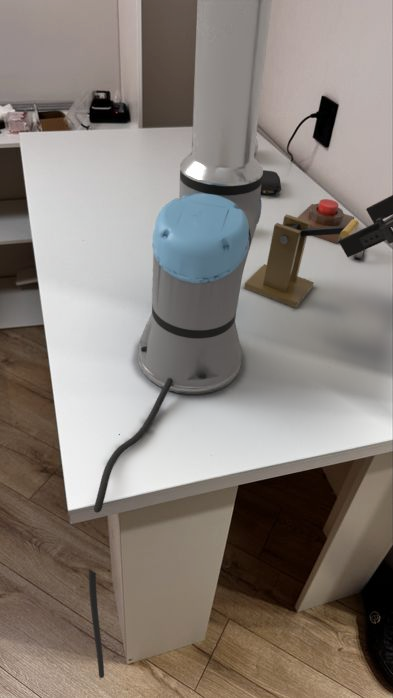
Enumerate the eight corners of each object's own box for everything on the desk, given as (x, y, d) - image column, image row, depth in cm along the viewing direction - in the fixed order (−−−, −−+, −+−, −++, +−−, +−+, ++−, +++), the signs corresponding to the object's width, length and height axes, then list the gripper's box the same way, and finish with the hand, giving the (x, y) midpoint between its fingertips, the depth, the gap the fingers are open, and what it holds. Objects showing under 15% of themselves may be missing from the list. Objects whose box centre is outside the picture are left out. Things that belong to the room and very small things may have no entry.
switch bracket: (312, 287, 97) (329, 223, 88) (295, 308, 91) (312, 242, 83) (263, 269, 100) (275, 206, 92) (244, 288, 95) (255, 222, 86)
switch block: (336, 243, 110) (341, 226, 108) (292, 228, 114) (296, 211, 111) (351, 226, 117) (356, 209, 114) (309, 212, 120) (313, 196, 118)
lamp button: (332, 218, 111) (334, 209, 110) (314, 212, 112) (316, 203, 111) (338, 211, 114) (341, 202, 112) (321, 206, 115) (323, 197, 114)
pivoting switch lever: (359, 230, 85) (358, 215, 84) (349, 242, 81) (348, 227, 80) (290, 234, 92) (287, 221, 90) (278, 246, 88) (275, 232, 87)
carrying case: (218, 193, 124) (280, 200, 124) (219, 181, 122) (283, 187, 122) (219, 175, 132) (278, 181, 133) (220, 163, 130) (280, 169, 131)
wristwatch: (366, 249, 109) (373, 227, 106) (364, 264, 105) (371, 241, 101) (349, 246, 110) (355, 224, 107) (346, 260, 105) (353, 237, 102)
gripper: (505, 221, 60) (344, 287, 75) (525, 159, 77) (390, 222, 92) (476, 162, 58) (317, 241, 73) (502, 112, 75) (369, 184, 90)
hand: (357, 231), depth 82 cm, fingers open, 13 cm apart
